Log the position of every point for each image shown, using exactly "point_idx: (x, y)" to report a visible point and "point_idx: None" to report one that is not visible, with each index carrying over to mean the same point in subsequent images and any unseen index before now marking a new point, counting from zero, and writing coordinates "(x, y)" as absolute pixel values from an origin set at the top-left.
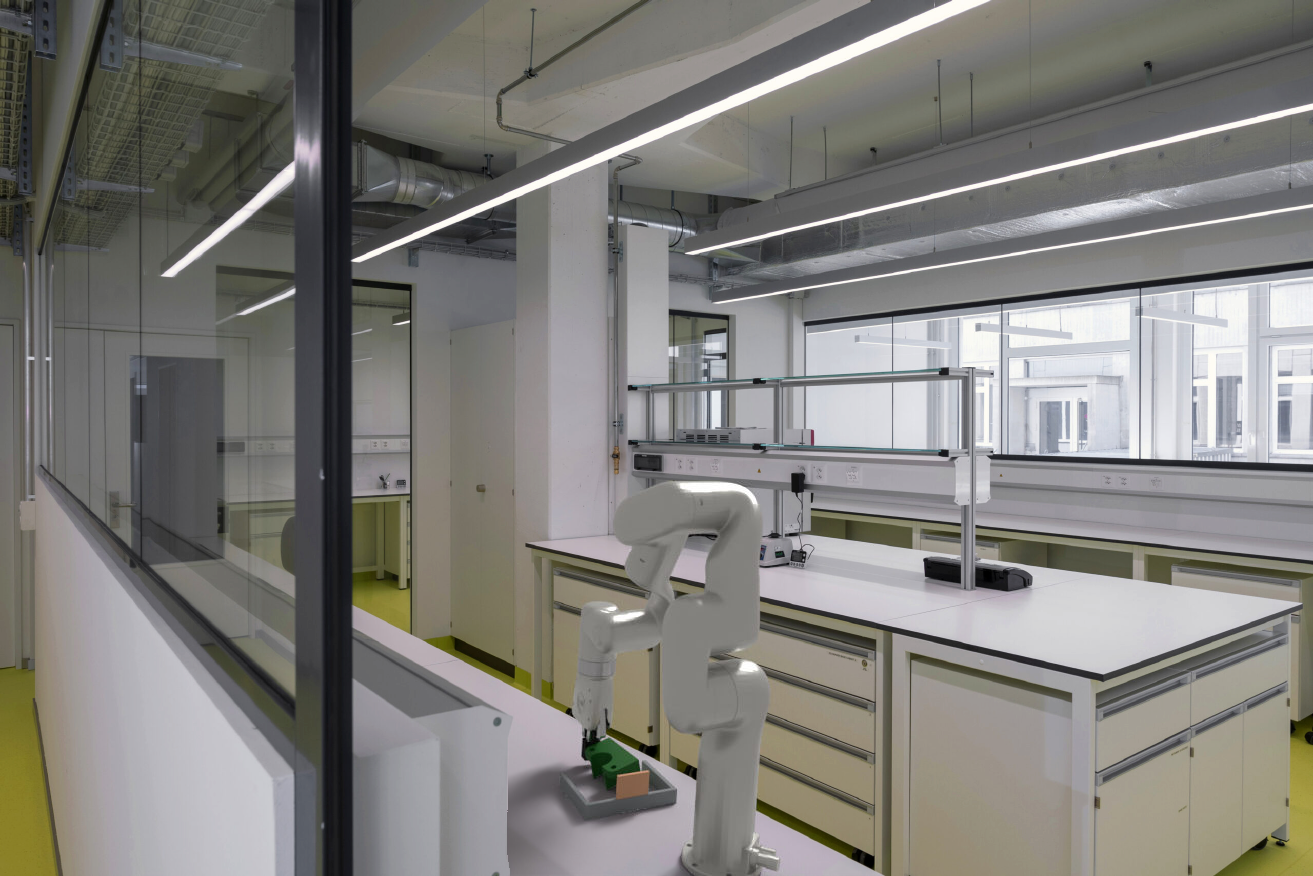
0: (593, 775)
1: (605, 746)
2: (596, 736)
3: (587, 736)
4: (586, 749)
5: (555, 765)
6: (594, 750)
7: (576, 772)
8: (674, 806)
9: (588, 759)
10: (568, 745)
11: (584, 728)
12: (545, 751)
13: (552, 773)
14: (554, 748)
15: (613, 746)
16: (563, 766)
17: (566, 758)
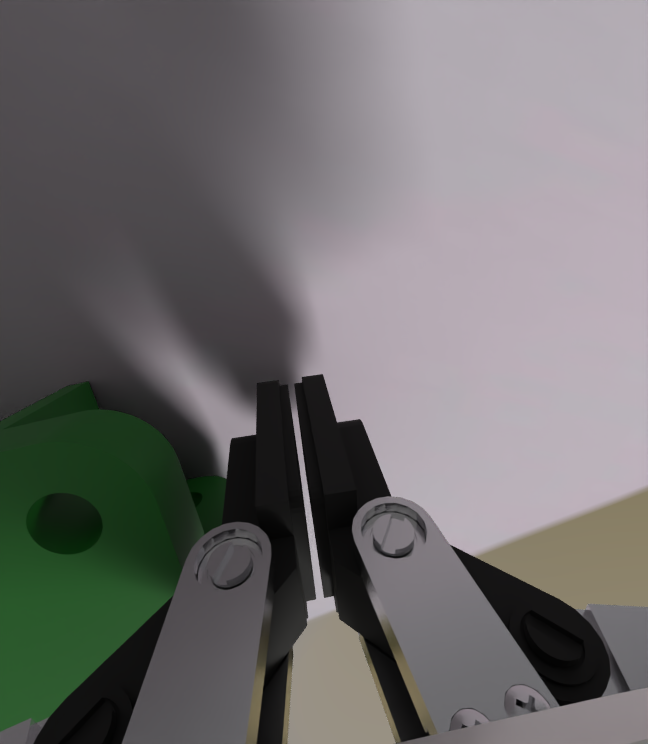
0: (59, 392)
1: (58, 656)
2: (19, 741)
3: (257, 575)
4: (107, 468)
5: (357, 142)
6: (30, 544)
7: (193, 287)
8: None
9: (31, 427)
10: (612, 333)
11: (388, 627)
12: (630, 132)
13: (195, 50)
14: (631, 226)
15: (16, 720)
16: (320, 210)
17: (444, 272)
